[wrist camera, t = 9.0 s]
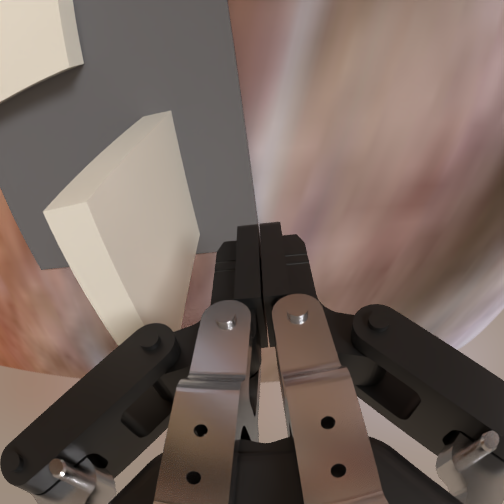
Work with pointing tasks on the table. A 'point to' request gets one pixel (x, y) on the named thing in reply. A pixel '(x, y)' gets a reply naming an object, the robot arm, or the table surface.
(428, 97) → the table surface
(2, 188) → the mat
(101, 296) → the tile
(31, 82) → the tile
